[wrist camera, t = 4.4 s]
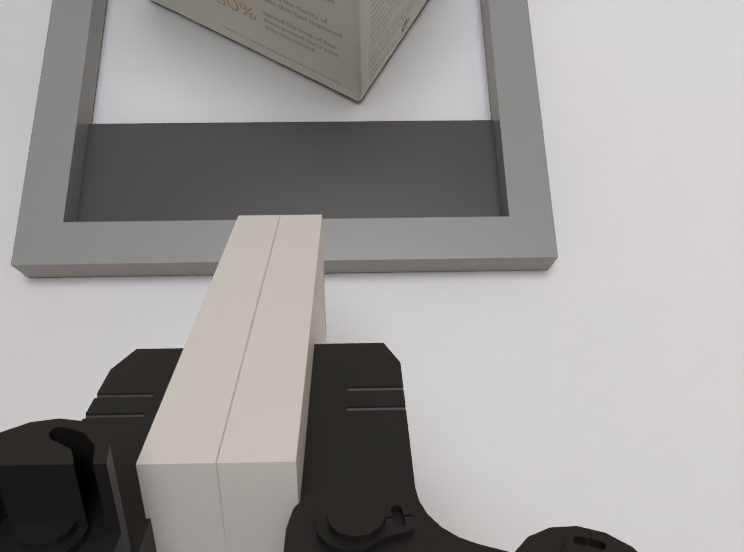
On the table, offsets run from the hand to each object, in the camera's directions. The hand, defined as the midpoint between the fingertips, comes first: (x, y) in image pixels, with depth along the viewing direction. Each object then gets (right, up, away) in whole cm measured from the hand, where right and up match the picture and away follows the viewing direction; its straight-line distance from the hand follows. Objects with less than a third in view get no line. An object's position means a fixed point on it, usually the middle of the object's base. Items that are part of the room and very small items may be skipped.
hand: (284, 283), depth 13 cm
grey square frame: (-1, +8, +9) cm, 12 cm away
